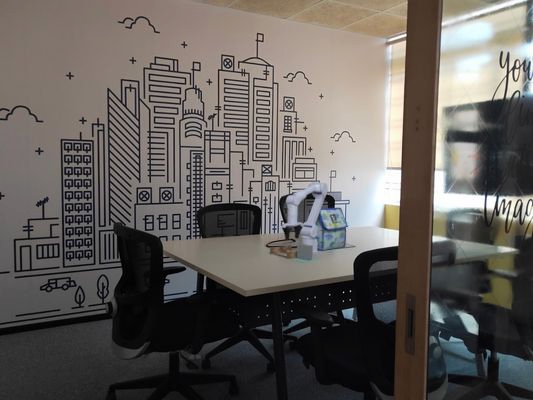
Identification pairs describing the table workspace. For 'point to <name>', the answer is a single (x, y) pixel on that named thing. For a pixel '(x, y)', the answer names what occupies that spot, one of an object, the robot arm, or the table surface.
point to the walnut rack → (283, 250)
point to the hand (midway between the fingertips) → (292, 238)
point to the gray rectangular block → (304, 251)
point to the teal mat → (304, 260)
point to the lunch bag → (331, 229)
